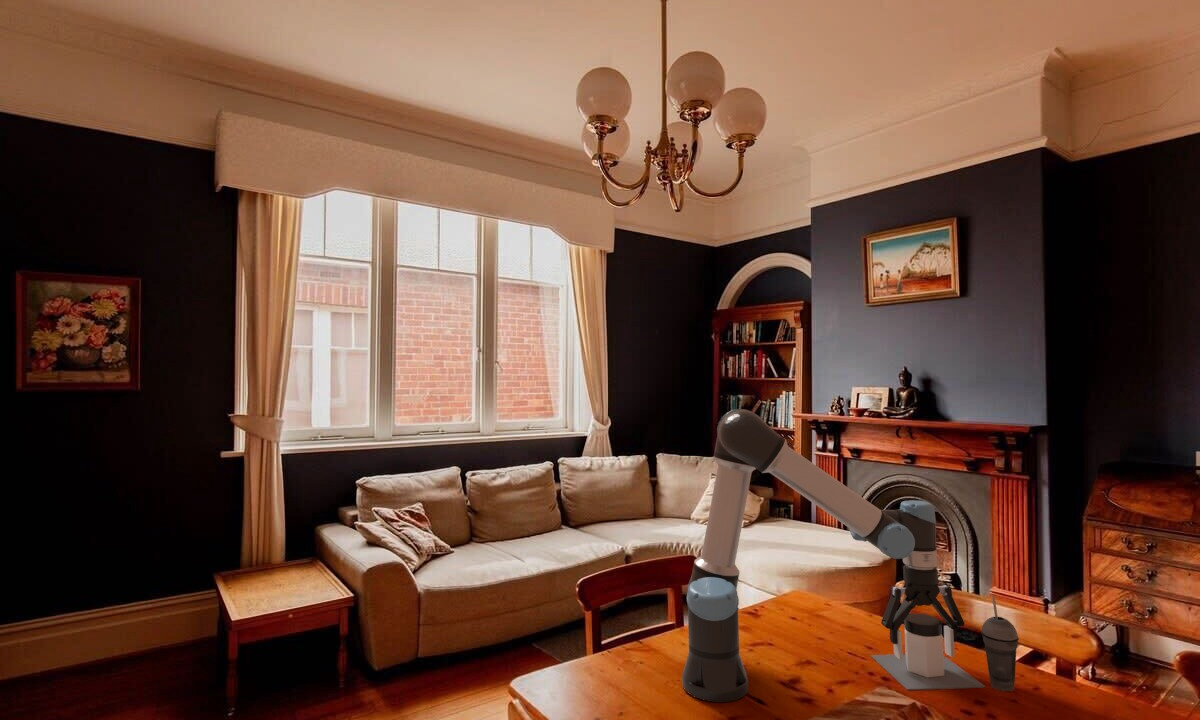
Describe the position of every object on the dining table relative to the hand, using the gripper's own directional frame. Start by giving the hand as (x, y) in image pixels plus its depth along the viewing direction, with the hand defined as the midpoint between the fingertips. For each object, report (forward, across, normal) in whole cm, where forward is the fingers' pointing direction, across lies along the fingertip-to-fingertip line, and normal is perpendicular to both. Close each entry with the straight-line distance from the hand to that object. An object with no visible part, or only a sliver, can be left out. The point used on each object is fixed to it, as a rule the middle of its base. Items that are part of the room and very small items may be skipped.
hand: (924, 656), depth 152 cm
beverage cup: (+4, +13, -9) cm, 16 cm away
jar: (+3, 0, 0) cm, 3 cm away
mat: (+4, 0, 0) cm, 4 cm away
